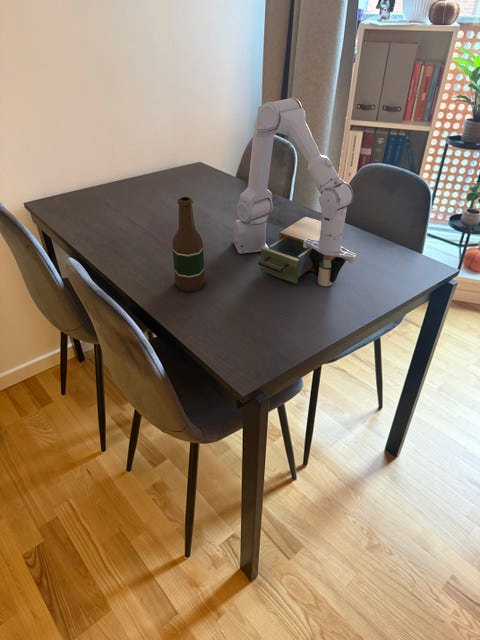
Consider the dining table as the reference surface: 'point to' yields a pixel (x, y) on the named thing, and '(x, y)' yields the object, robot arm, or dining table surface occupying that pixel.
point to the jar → (324, 273)
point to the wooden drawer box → (305, 232)
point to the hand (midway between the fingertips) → (325, 278)
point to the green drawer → (286, 259)
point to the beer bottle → (188, 250)
